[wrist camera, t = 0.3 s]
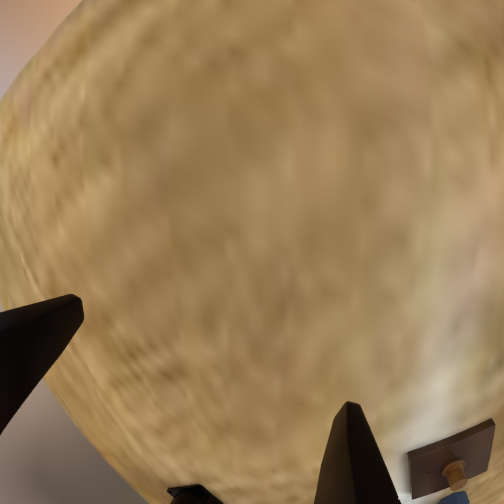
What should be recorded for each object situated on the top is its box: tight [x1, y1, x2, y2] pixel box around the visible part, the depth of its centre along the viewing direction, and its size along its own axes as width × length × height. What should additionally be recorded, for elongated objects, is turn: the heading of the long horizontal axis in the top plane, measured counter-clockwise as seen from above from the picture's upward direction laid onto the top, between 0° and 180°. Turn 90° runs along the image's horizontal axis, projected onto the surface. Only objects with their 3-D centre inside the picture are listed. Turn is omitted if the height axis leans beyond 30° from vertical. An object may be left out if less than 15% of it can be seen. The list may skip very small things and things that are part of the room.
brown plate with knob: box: [408, 418, 495, 500], centre depth 21 cm, size 10×9×4 cm
